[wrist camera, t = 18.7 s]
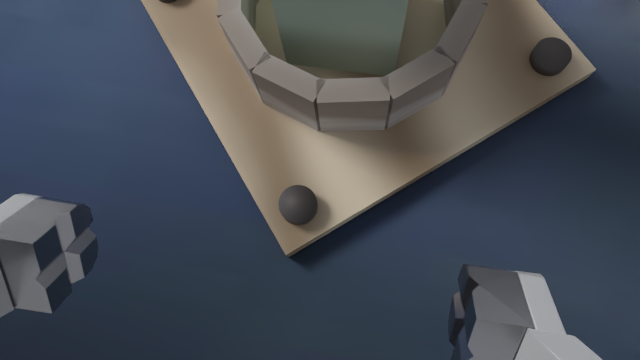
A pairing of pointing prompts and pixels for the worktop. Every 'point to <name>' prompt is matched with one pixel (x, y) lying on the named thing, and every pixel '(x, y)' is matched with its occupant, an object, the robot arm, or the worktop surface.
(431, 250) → the worktop surface
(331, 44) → the green peg
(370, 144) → the bolt socket plate
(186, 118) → the worktop surface
